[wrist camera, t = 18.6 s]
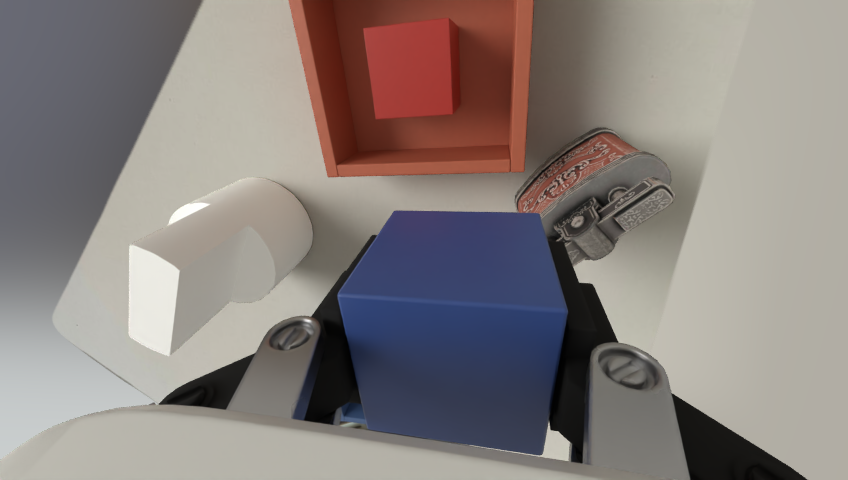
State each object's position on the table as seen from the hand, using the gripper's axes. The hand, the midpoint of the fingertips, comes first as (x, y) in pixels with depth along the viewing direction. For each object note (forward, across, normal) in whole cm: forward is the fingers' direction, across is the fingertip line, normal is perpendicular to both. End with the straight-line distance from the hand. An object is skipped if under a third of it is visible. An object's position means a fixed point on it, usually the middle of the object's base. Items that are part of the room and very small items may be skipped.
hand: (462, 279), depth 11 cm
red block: (+15, +4, -6) cm, 16 cm away
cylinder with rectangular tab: (+16, +20, +6) cm, 26 cm away
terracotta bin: (+15, +4, -6) cm, 17 cm away
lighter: (+16, -6, +1) cm, 17 cm away
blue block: (0, 0, 0) cm, 0 cm away
